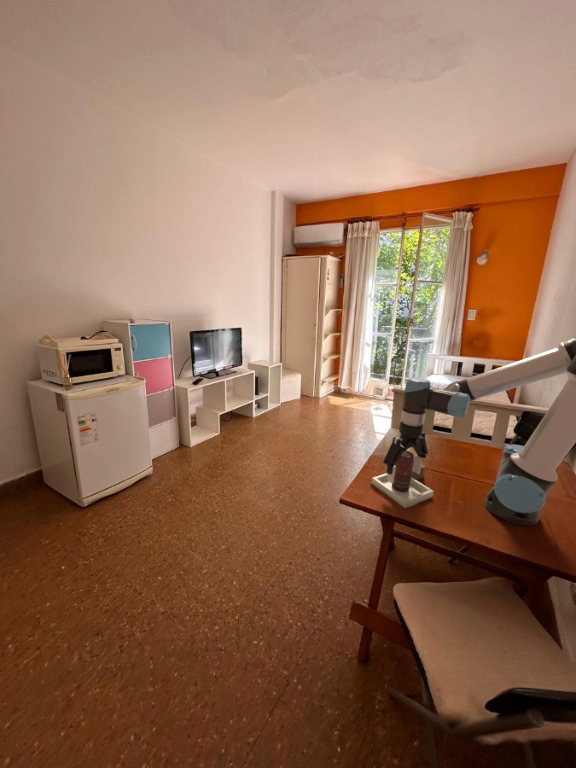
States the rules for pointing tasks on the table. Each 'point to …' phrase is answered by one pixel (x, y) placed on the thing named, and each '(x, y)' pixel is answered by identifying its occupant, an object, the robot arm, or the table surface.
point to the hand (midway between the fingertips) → (403, 476)
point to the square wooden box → (419, 476)
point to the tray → (405, 499)
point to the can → (403, 472)
